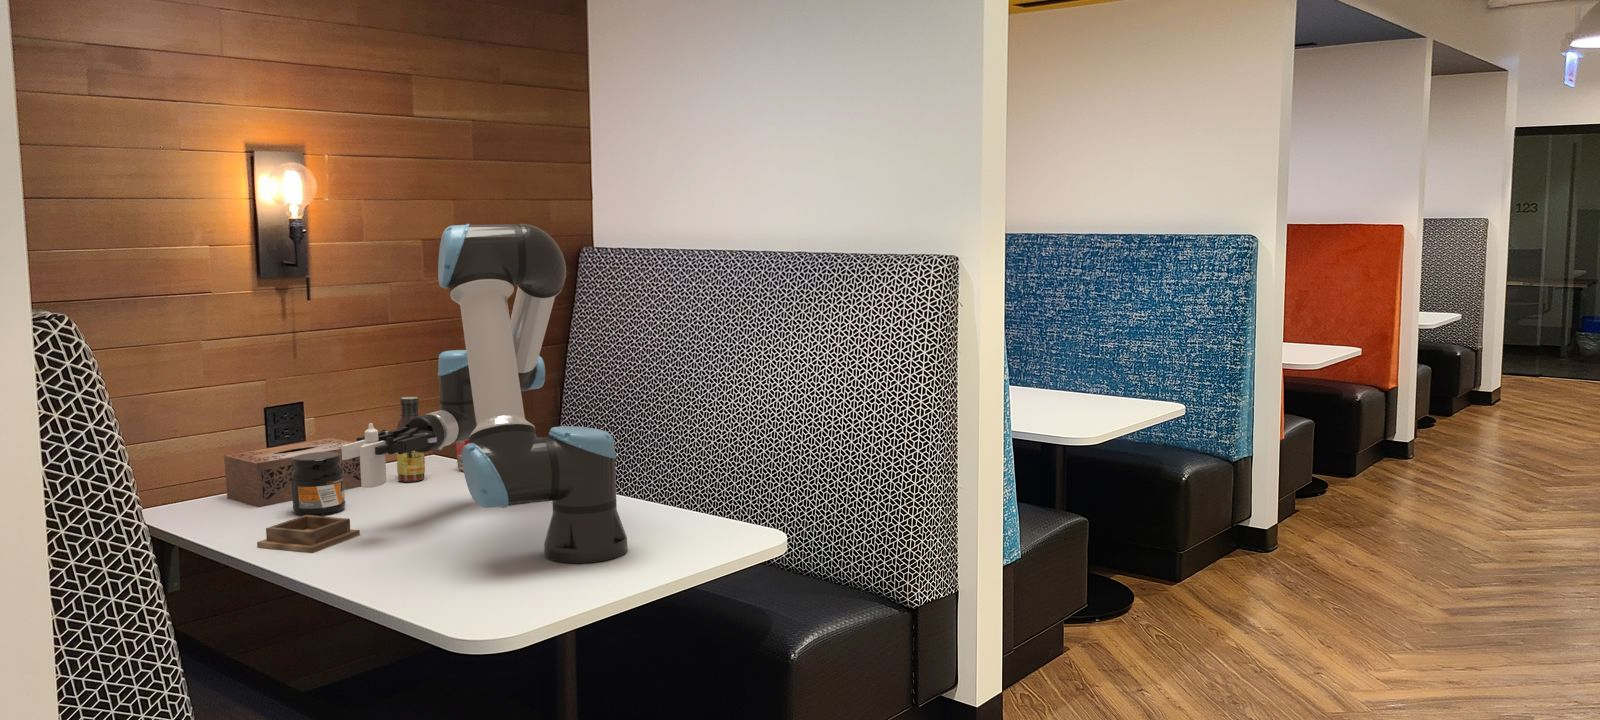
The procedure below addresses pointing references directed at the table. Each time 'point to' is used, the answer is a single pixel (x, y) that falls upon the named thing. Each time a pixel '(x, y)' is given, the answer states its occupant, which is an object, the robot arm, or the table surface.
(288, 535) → the square wooden tray stand
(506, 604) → the table surface
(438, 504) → the table surface
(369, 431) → the eye dropper bottle
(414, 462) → the sauce bottle
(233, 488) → the tissue box cover
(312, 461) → the supplement container
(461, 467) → the soda can
